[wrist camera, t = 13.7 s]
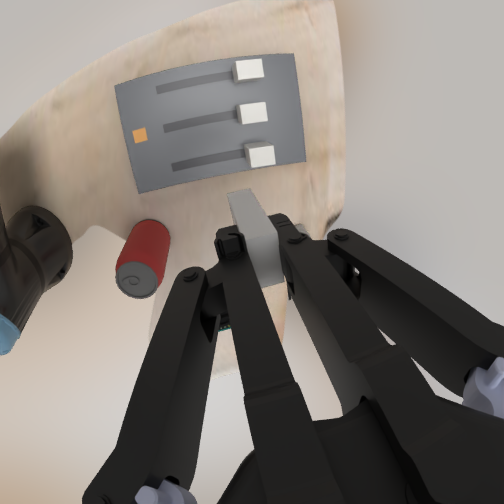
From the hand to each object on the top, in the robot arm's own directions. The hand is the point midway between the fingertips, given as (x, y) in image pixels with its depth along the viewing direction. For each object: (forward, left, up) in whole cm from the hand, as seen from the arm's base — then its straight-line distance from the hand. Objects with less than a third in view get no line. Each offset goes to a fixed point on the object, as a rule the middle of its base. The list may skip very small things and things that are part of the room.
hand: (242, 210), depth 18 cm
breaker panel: (0, +5, -23) cm, 23 cm away
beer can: (-13, -10, -23) cm, 28 cm away
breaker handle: (+4, +6, -20) cm, 21 cm away
